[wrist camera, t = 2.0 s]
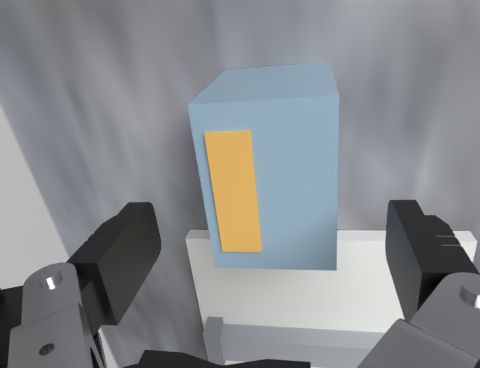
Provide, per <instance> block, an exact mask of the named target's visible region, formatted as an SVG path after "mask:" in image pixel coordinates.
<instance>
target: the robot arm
mask: <svg viewBox="0 0 480 368" xmlns="http://www.w3.org/2000/svg"><path fill="white" fill-rule="evenodd" d="M160 251H161V238H160V233H159V229H158V225H157V220H156V216H155V212H154V208H153V205H152V204H151V203H150V202H129V203H128V204H127V205H126V206H125V207H124V208H123V209H122V210H121V211H120V212H119V213H118V214H117V216H114V217H112V218H111V219H109V220H107V221H106V222H104V223H103V224H102V225H101V226H100V227H99V228H98V229H97V230H96V231H95V232H94V234H92V235H91V236H90V237H89V238H88V241H86V242H85V243H84V244H83V245H82V246H81V247H80V248H79V249H78V250H77V251H76V252H75V253H74V254H73V255H72V256H71V257H70V259H69V260H68V261H67V262H66V263H56V264H52V265H49V266H46V267H44V268H42V269H40V270H38V271H36V272H35V273H33V274H32V275H31V276H30V277H29V278H28V279H27V280H26V281H25V283H24V285H23V286H19V287H13V288H9V289H3V290H1V289H0V368H107V364H106V360H105V355H104V352H103V346H102V341H101V337H100V334H99V332H98V329H99V328H100V327H101V325H118V324H119V322H120V320H121V319H122V317H123V315H124V314H125V312H126V310H127V309H128V307H129V305H130V304H131V302H132V300H133V299H134V297H135V295H136V294H137V292H138V290H139V289H140V287H141V285H142V284H143V282H144V280H145V278H146V277H147V275H148V273H149V272H150V270H151V268H152V267H153V265H154V263H155V262H156V260H157V258H158V257H159V254H160ZM385 252H386V259H387V263H388V267H389V270H390V273H391V276H392V280H393V283H394V286H395V290H396V293H397V296H398V299H399V303H400V306H401V309H402V312H403V316H404V319H405V320H404V319H401V318H400V319H398V320H396V321H395V322H394V323H393V324H392V326H391V327H390V328H389V329H388V330H387V332H386V333H385V334H384V335H383V337H382V338H381V339H380V340H379V341H378V343H377V344H376V345H375V346H374V347H373V349H372V350H371V351H370V352H369V354H368V355H367V356H366V357H365V358H364V360H363V361H362V362H361V363H360V364H359V366H358V367H357V368H480V274H479V272H478V271H477V269H476V267H475V266H474V264H473V263H472V261H471V260H470V258H469V256H468V255H467V253H466V252H465V250H464V248H463V247H462V246H461V244H460V242H459V241H458V239H457V237H455V234H454V233H453V231H452V230H451V228H450V226H449V225H448V224H447V223H445V222H444V221H442V220H441V219H440V218H438V217H437V216H435V215H424V214H423V212H422V210H421V208H420V206H419V204H418V203H417V201H416V200H390V201H389V204H388V213H387V226H386V239H385ZM123 368H311V362H304V361H290V360H277V359H262V360H256V361H249V362H243V363H236V364H230V365H218V364H215V363H212V362H209V361H206V360H203V359H200V358H197V357H194V356H191V355H188V354H185V353H181V352H167V351H154V350H144V353H143V355H142V357H141V359H140V361H139V363H138V364H134V365H130V366H126V367H123Z"/></svg>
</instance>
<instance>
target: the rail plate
mask: <svg viewBox="0 0 480 368" xmlns="http://www.w3.org/2000/svg"><path fill="white" fill-rule="evenodd" d="M453 233H454V234H455V237H457V239H458V241H459V242H460V244H461V246H462V247H463V248H464V250H465V252H466V253H467V255H468V256H469V258H470V260H471V261H472V263H473V259H474V254H475V250H476V245H477V241H476V239H475V238H474V236H473V235H472V234H471V232H470V231H453ZM385 239H386V231H371V230H337V271H328V270H288V269H248V268H215V265H214V259H213V253H212V247H211V241H210V235H209V230H189V232H188V234H187V236H186V238H185V240H186V245H187V250H188V255H189V260H190V264H191V269H192V274H193V279H194V284H195V289H196V293H197V298H198V303H199V308H200V313H201V318H202V322H203V327H204V332H203V338H204V343H205V348H206V353H207V357H208V361H209V362H212V363H215V364H218V365H230V364H236V363H243V362H249V361H256V360H262V359H277V360H290V361H304V362H311V368H357V367H358V366H359V364H360V363H361V362H362V361H363V360H364V358H365V357H366V356H367V355H368V354H369V352H370V351H371V350H372V349H373V347H374V346H375V345H376V344H377V343H378V341H379V340H380V339H381V338H382V337H383V335H384V334H385V333H386V332H387V330H388V329H389V328H390V327H391V326H392V324H393V323H394V322H395V321H396V320H398V319H400V318H401V319H404V316H403V312H402V309H401V306H400V303H399V299H398V296H397V293H396V290H395V286H394V283H393V280H392V276H391V273H390V270H389V267H388V263H387V259H386V252H385ZM404 320H405V319H404Z"/></svg>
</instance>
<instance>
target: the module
mask: <svg viewBox="0 0 480 368" xmlns="http://www.w3.org/2000/svg"><path fill="white" fill-rule="evenodd" d="M187 107H188V112H189V118H190V124H191V130H192V136H193V142H194V148H195V153H196V159H197V165H198V171H199V177H200V183H201V188H202V194H203V200H204V206H205V212H206V218H207V224H208V229H209V235H210V241H211V247H212V253H213V259H214V265H215V268H248V269H288V270H328V271H337V210H338V142H339V93H338V90H337V86H336V83H335V80H334V77H333V73H332V70H331V67H330V64H329V62H317V63H304V64H292V65H280V66H268V67H256V68H244V69H231V70H225V71H224V72H223V73H222V74H221V75H220V76H218V77H217V78H216V79H215V80H214V81H213V82H212V83H211V84H210V85H209V86H207V87H206V88H205V89H204V90H203V91H202V92H201V93H200V94H199V95H198V96H197V97H195V98H194V99H193V100H192V101H191V102H190V103H189V104H188V105H187Z"/></svg>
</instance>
